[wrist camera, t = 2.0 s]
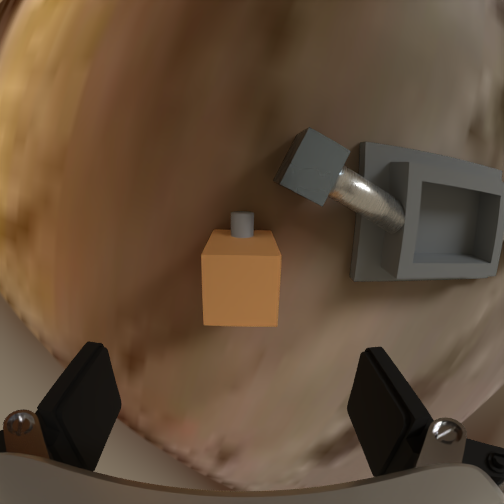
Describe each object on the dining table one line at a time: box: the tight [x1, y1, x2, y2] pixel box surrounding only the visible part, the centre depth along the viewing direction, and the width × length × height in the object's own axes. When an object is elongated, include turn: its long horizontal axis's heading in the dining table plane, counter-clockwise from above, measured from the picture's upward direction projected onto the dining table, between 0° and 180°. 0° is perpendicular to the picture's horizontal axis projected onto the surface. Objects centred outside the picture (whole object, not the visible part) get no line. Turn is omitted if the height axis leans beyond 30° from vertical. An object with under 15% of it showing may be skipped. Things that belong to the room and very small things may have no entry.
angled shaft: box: [273, 127, 405, 234], centre depth 20 cm, size 9×4×4 cm, turn 64°
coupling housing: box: [350, 142, 504, 282], centre depth 21 cm, size 11×16×4 cm
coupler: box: [201, 211, 282, 327], centre depth 21 cm, size 4×8×7 cm, turn 179°
